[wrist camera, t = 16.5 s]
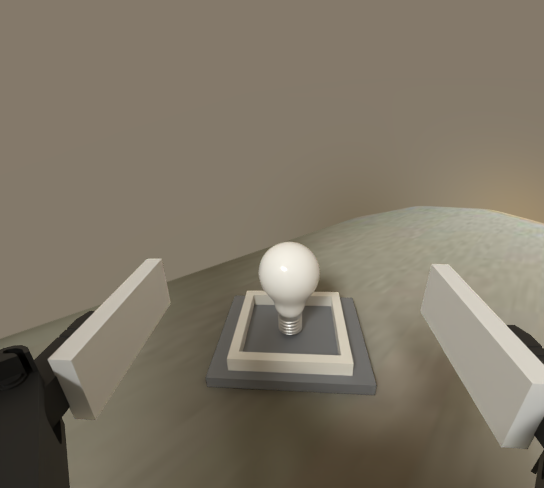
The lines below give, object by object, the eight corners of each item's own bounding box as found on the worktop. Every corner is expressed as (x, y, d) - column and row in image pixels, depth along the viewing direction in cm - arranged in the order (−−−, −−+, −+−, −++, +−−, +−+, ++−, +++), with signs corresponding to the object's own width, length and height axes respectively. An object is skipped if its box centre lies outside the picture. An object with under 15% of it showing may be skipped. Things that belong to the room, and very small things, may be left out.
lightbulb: (316, 314, 37) (318, 232, 32) (320, 353, 31) (323, 259, 26) (265, 313, 37) (260, 232, 33) (259, 351, 31) (252, 259, 27)
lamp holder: (207, 386, 29) (203, 366, 28) (235, 302, 42) (233, 286, 41) (375, 394, 27) (378, 373, 26) (351, 305, 40) (353, 288, 39)
